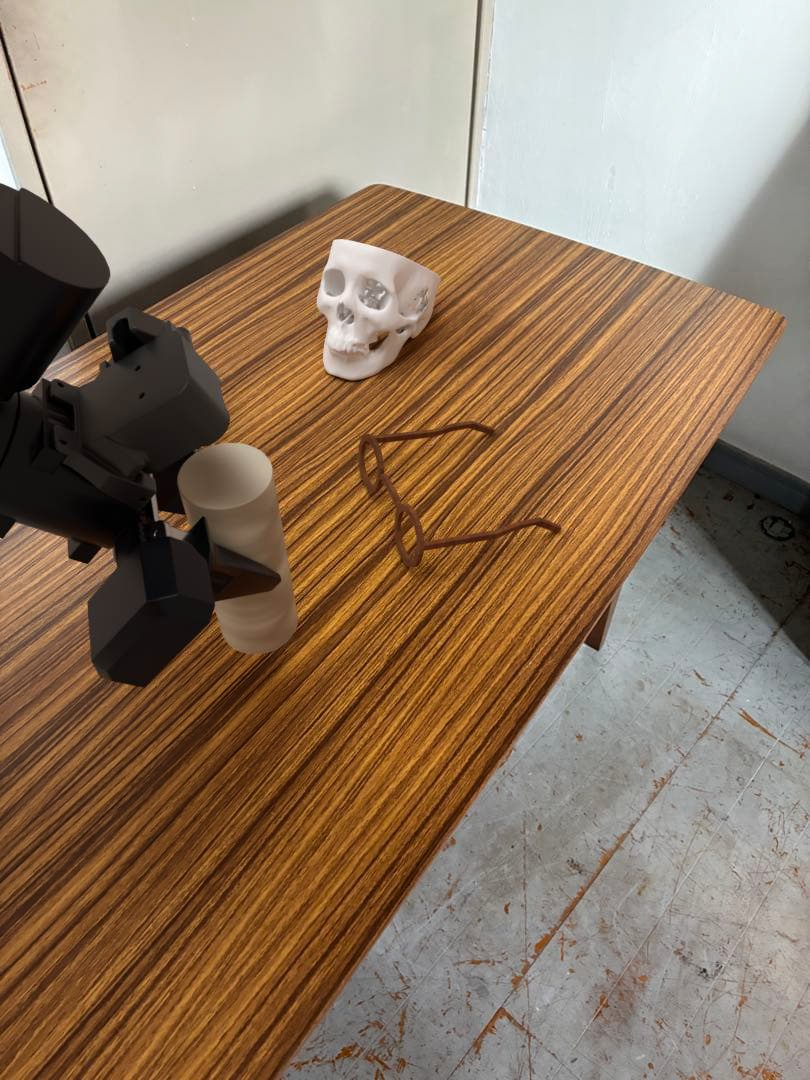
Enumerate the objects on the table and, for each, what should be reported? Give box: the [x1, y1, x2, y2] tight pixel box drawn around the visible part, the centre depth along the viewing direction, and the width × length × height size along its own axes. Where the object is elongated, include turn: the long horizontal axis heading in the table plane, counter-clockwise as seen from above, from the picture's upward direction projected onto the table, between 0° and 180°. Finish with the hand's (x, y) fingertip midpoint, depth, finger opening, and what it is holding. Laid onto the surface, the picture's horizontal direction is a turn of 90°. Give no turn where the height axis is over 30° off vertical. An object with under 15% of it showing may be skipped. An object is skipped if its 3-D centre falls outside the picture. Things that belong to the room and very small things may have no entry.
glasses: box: [357, 420, 563, 569], centre depth 66 cm, size 13×13×5 cm
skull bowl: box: [316, 238, 442, 381], centre depth 80 cm, size 10×14×12 cm
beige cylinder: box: [177, 442, 299, 655], centre depth 46 cm, size 5×5×13 cm
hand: (267, 549), depth 46 cm, fingers closed on beige cylinder, 5 cm apart
